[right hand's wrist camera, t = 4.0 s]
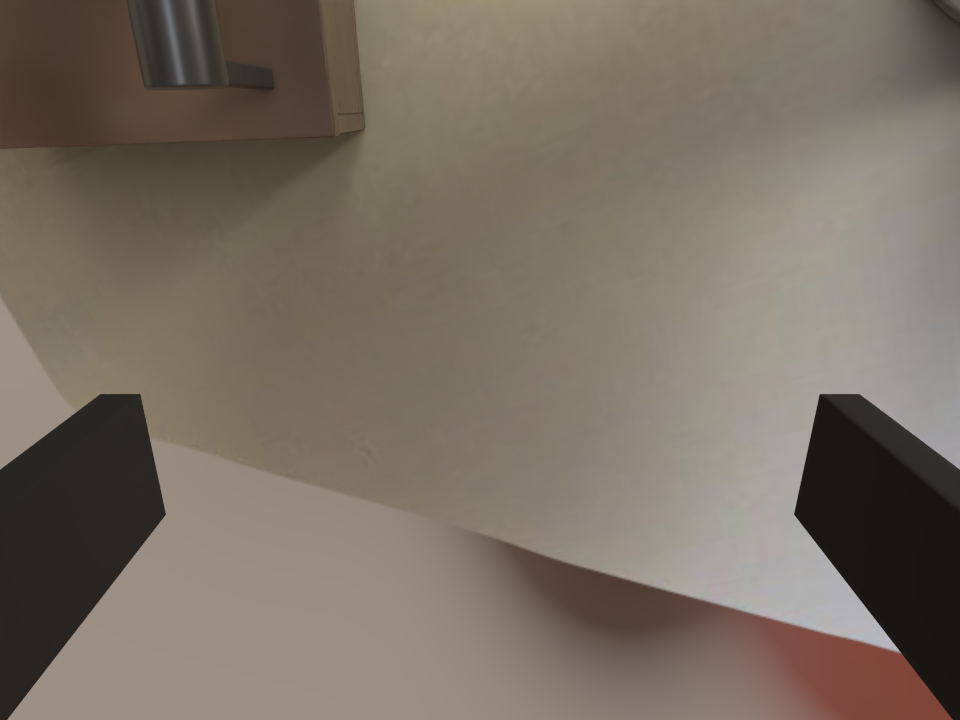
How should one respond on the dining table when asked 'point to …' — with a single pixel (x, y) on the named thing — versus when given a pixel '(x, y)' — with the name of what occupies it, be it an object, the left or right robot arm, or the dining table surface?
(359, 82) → the chest
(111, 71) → the lid
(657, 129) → the dining table surface
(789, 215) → the dining table surface
